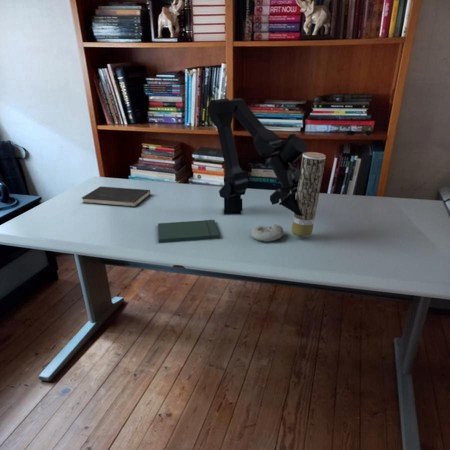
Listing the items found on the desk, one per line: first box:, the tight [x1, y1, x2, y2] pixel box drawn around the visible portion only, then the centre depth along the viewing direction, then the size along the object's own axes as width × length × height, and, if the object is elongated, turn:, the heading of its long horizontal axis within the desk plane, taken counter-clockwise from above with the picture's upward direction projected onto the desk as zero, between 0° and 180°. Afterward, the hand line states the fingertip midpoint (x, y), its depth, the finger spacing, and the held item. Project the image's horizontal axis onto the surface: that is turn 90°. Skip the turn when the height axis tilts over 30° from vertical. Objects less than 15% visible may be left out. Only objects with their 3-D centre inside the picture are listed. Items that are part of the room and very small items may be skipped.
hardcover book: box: [81, 186, 151, 208], centre depth 173 cm, size 16×23×2 cm
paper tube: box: [291, 151, 327, 237], centre depth 130 cm, size 7×7×25 cm
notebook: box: [157, 219, 221, 243], centre depth 143 cm, size 20×14×1 cm
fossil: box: [250, 224, 284, 242], centre depth 138 cm, size 11×4×10 cm
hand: (307, 213), depth 133 cm, fingers closed on paper tube, 6 cm apart
